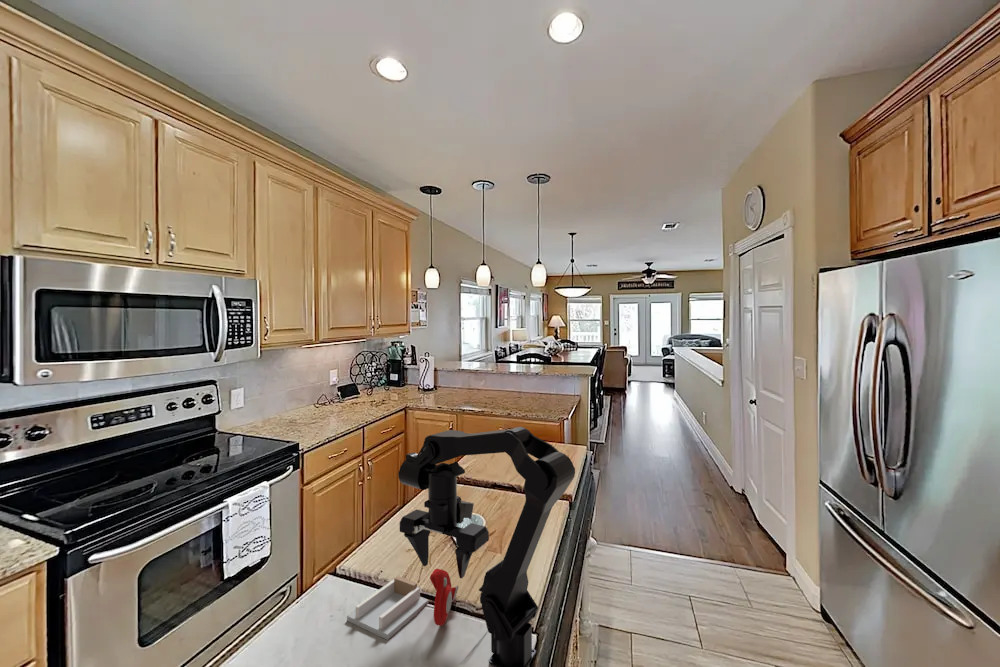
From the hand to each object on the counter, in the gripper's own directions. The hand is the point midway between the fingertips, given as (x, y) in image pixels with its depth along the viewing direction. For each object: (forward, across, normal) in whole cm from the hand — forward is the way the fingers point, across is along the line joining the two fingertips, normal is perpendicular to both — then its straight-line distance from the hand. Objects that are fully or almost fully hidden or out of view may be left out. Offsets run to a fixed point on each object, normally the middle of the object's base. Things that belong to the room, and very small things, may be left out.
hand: (443, 571), depth 87 cm
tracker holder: (+10, 0, 0) cm, 10 cm away
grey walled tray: (+9, +11, +4) cm, 15 cm away
